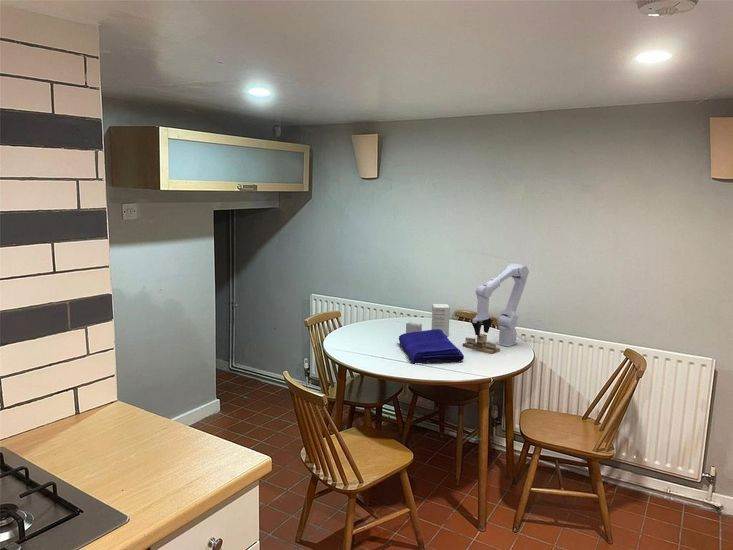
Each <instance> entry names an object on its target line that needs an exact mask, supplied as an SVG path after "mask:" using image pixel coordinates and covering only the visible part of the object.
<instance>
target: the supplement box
mask: <svg viewBox="0 0 733 550" xmlns="http://www.w3.org/2000/svg"><path fill="white" fill-rule="evenodd" d="M431 305H432V306H431V330H434V329H442V331H443V333H444V334H445V335H446V336H447V337H449V335H450V314H451V312H450V306H449V305H448V303H433V304H431Z"/></svg>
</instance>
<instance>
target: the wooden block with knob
mask: <svg viewBox="0 0 733 550" xmlns="http://www.w3.org/2000/svg"><path fill="white" fill-rule="evenodd" d="M487 338H488V335H487V334H485V333H480V335H479V336H477V335H476V342H477V344H479V345H482V347H485V346H486V342H488V339H487Z"/></svg>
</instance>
